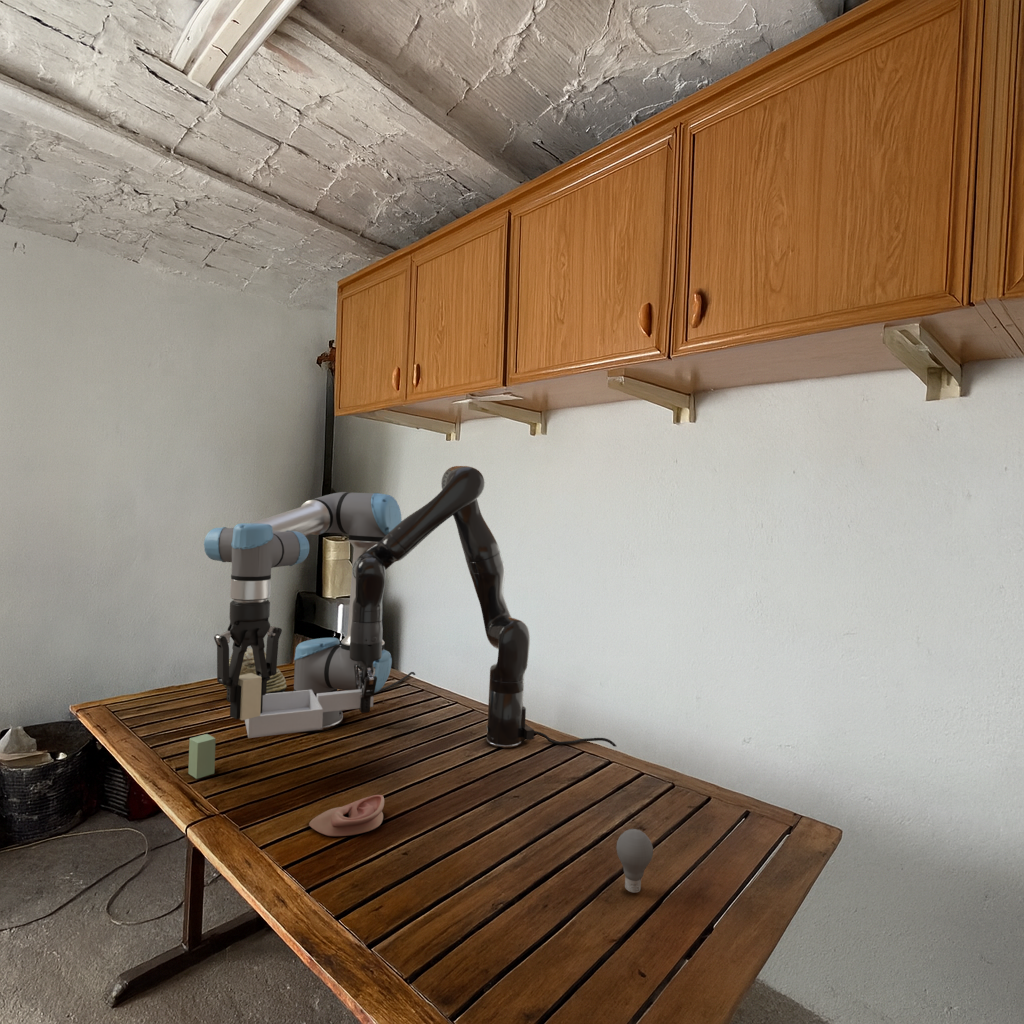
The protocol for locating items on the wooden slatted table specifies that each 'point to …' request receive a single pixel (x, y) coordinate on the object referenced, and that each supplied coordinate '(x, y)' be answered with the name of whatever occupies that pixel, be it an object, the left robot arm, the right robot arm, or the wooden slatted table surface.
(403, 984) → the wooden slatted table surface
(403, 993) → the wooden slatted table surface
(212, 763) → the block
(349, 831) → the anatomical model
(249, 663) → the fossil
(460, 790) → the wooden slatted table surface
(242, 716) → the block
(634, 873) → the light bulb
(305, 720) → the tray
